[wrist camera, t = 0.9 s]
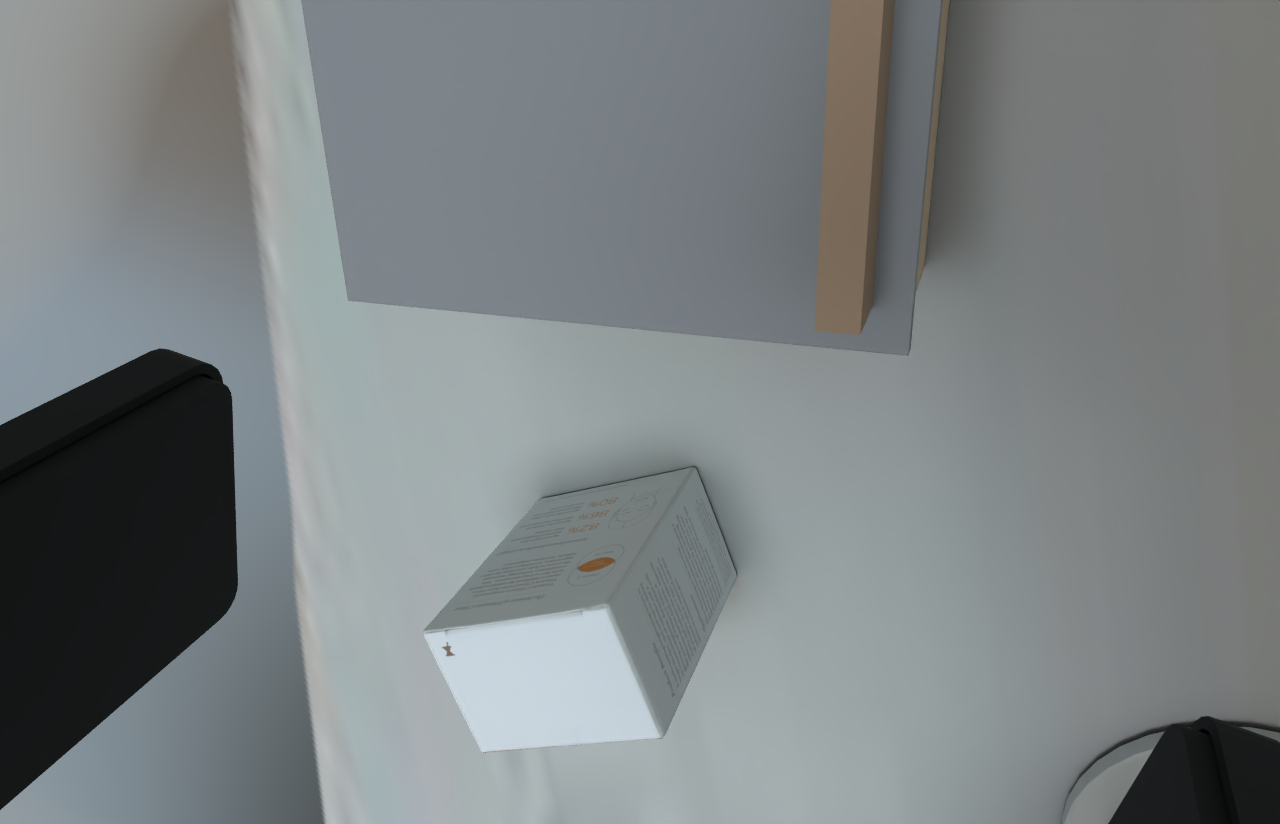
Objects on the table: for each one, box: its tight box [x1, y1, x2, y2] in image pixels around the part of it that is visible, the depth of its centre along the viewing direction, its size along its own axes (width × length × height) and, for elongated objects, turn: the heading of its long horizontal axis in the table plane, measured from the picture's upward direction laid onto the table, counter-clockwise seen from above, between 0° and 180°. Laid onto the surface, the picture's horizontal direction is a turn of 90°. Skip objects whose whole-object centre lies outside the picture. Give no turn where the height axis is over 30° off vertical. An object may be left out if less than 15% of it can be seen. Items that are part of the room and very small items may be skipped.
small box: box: [423, 467, 737, 753], centre depth 39 cm, size 8×6×10 cm
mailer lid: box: [301, 0, 943, 356], centre depth 27 cm, size 19×15×3 cm
